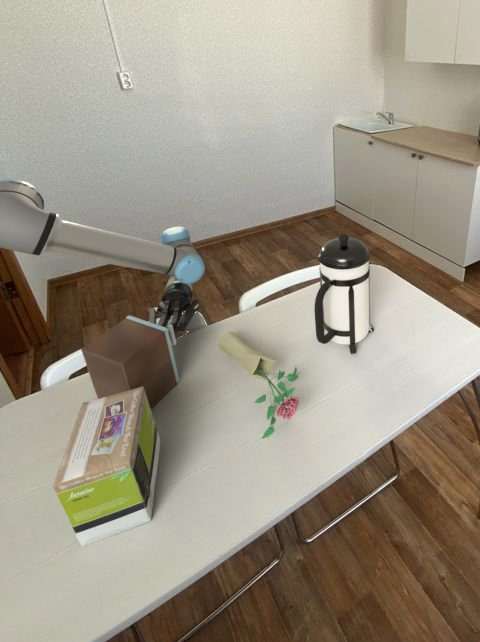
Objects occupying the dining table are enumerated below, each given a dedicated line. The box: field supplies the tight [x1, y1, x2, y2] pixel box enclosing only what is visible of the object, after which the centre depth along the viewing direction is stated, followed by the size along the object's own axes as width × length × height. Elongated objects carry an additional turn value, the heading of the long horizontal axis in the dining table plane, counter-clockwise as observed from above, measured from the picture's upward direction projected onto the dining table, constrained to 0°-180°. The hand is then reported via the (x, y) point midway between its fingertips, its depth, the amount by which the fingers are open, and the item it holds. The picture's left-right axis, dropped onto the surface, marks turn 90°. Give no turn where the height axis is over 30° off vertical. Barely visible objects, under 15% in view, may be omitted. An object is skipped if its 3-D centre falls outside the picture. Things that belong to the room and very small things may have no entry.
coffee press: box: [314, 233, 375, 355], centre depth 96 cm, size 17×16×30 cm
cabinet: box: [80, 318, 178, 410], centre depth 83 cm, size 10×12×15 cm
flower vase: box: [217, 331, 301, 439], centre depth 84 cm, size 12×12×35 cm
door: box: [125, 315, 181, 384], centre depth 88 cm, size 3×12×15 cm, turn 67°
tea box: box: [52, 387, 162, 547], centre depth 64 cm, size 15×10×15 cm, turn 21°
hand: (160, 349), depth 88 cm, fingers closed
